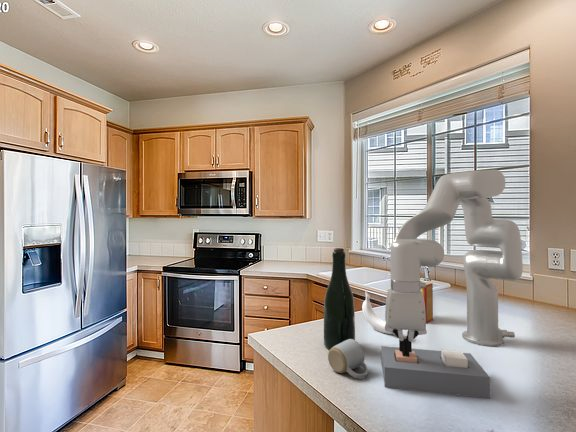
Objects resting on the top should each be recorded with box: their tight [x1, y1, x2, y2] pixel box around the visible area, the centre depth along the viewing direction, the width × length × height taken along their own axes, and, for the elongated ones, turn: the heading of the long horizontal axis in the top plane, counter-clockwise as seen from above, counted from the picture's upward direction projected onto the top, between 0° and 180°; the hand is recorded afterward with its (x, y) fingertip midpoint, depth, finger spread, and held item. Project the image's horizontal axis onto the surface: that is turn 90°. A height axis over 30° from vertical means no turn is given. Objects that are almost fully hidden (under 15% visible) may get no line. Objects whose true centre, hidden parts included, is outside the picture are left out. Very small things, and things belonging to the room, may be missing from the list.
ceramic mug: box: [327, 339, 369, 380], centre depth 90 cm, size 11×8×8 cm
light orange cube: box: [395, 350, 417, 363], centre depth 87 cm, size 5×5×5 cm
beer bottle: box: [323, 247, 356, 350], centre depth 108 cm, size 10×10×33 cm
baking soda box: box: [420, 280, 434, 325], centre depth 137 cm, size 10×6×16 cm
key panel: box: [380, 345, 491, 399], centre depth 86 cm, size 24×14×5 cm, turn 77°
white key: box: [440, 349, 468, 368], centre depth 84 cm, size 5×5×5 cm
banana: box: [361, 291, 394, 335], centre depth 121 cm, size 5×19×15 cm, turn 36°
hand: (405, 354), depth 87 cm, fingers closed
